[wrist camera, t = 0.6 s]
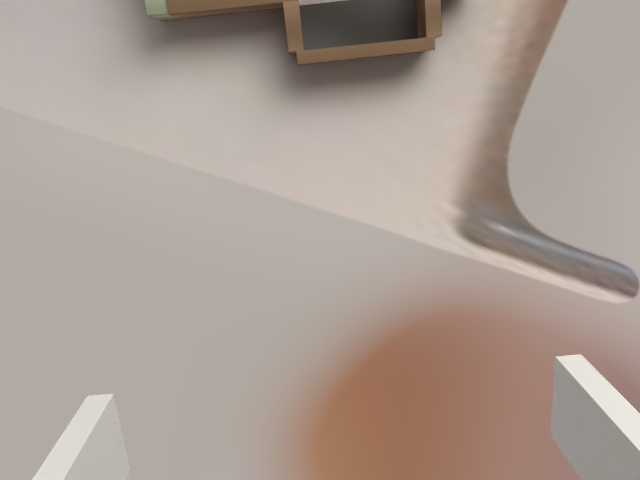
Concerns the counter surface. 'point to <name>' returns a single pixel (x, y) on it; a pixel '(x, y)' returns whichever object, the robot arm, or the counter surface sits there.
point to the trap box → (331, 24)
